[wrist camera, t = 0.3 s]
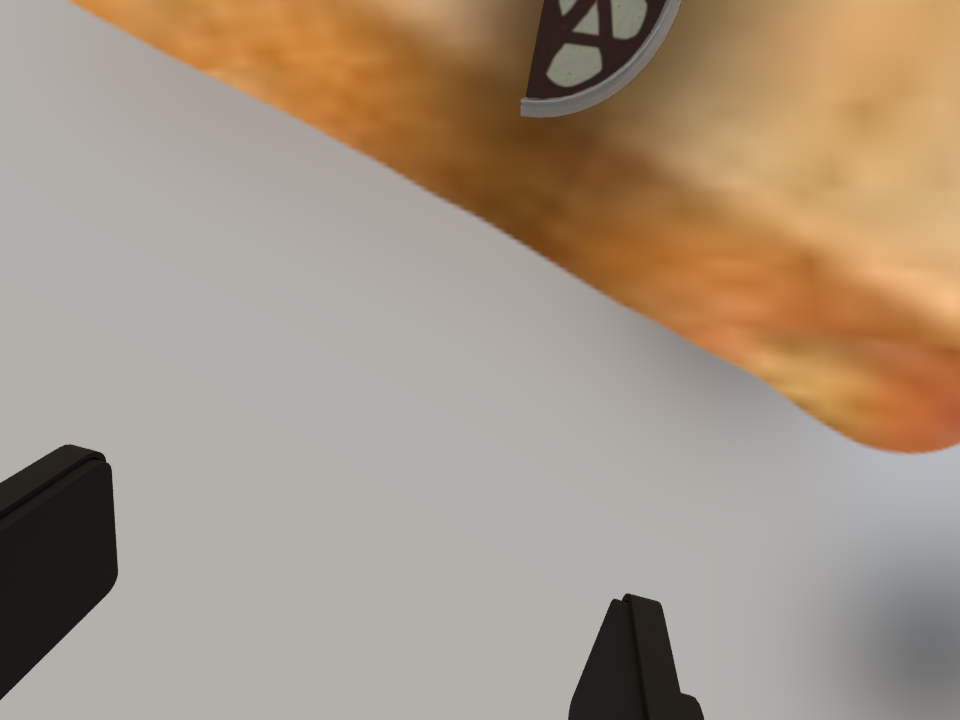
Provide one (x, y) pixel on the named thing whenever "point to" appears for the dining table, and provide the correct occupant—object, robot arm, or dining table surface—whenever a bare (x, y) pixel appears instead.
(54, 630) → the robot arm
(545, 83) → the food container
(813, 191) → the dining table surface
